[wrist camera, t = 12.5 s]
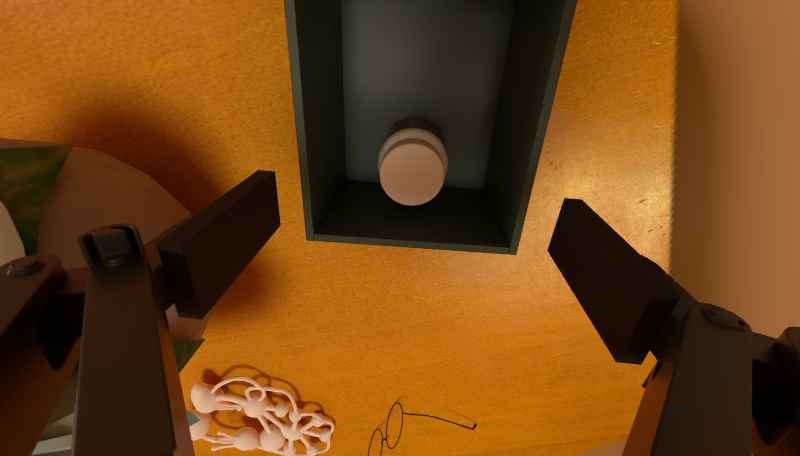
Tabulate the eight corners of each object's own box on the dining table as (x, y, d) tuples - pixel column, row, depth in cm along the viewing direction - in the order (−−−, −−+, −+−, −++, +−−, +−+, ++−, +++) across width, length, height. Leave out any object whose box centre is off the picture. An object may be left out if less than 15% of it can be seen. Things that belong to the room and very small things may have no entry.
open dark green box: (334, -22, 23) (276, -71, 14) (523, -13, 23) (592, -59, 14) (342, 183, 30) (306, 240, 21) (487, 192, 30) (516, 255, 21)
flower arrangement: (231, 80, 27) (-568, 185, 5) (297, 320, 38) (133, 669, 16) (-44, 102, 29) (-1431, 242, 7) (96, 323, 40) (-285, 636, 19)
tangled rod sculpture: (355, 398, 46) (351, 427, 42) (315, 459, 51) (308, 489, 47) (212, 347, 42) (194, 373, 38) (185, 418, 47) (166, 448, 43)
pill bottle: (384, 114, 27) (369, 137, 19) (443, 112, 27) (452, 134, 19) (387, 171, 29) (375, 212, 22) (442, 170, 29) (450, 211, 21)
